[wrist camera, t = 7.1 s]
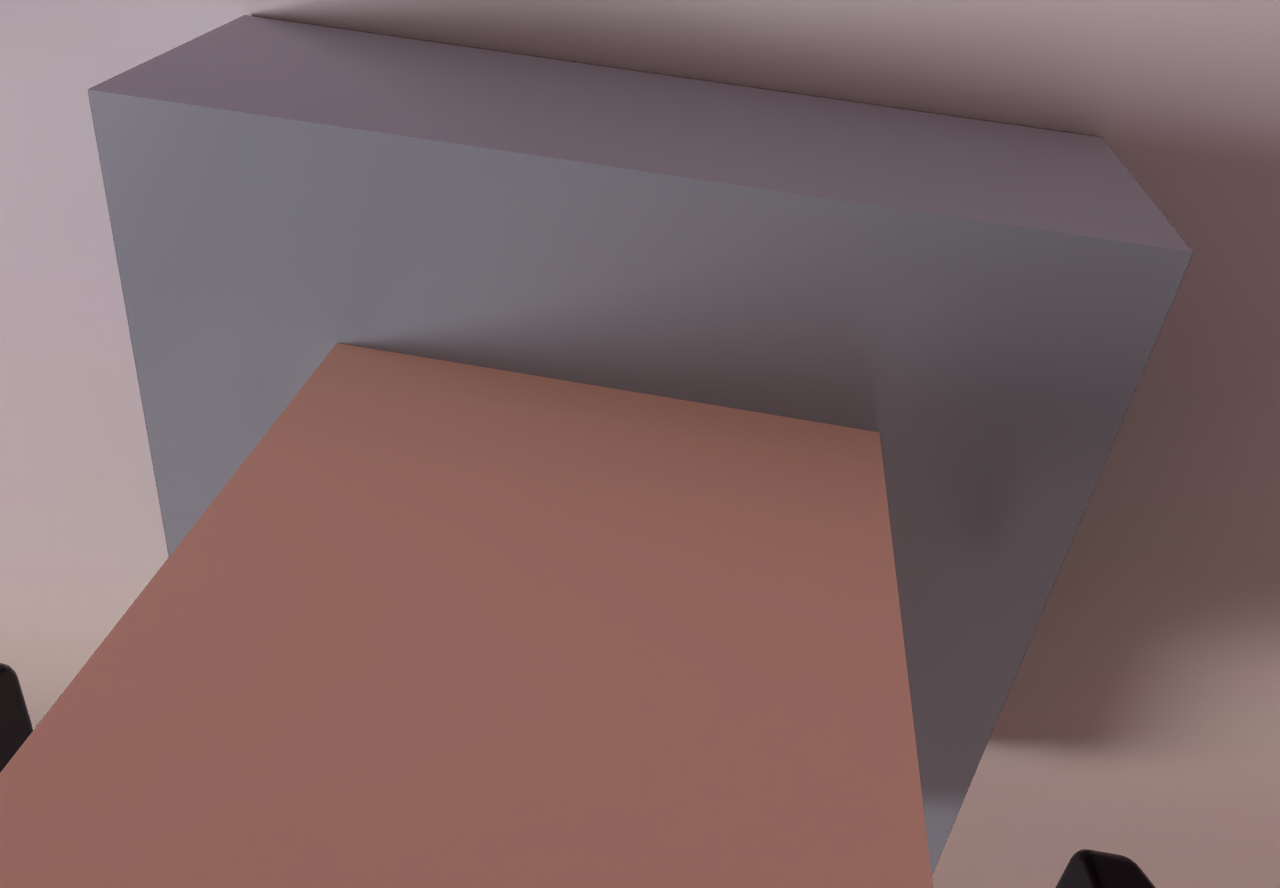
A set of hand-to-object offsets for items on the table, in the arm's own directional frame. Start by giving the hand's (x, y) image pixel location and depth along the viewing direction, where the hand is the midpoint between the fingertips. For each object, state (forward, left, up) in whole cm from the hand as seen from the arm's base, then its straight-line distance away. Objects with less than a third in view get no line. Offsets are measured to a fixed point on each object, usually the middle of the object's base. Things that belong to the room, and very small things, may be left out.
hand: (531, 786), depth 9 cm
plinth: (0, 0, -6) cm, 6 cm away
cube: (0, 0, -2) cm, 2 cm away
